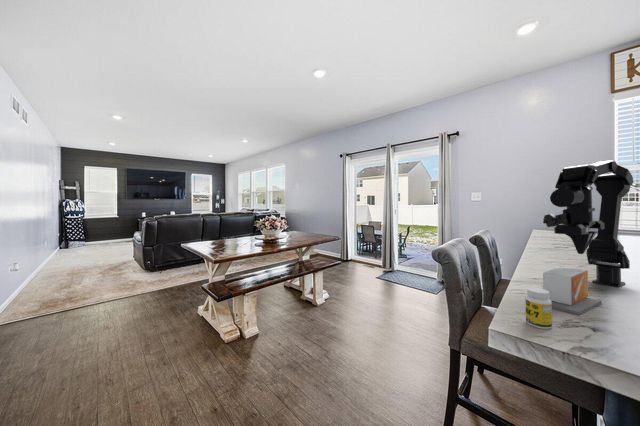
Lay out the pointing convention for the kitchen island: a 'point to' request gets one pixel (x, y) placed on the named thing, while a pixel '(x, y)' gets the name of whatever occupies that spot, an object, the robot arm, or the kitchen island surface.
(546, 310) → the supplement bottle
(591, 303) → the mat
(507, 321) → the kitchen island surface
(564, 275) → the small box
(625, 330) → the kitchen island surface
